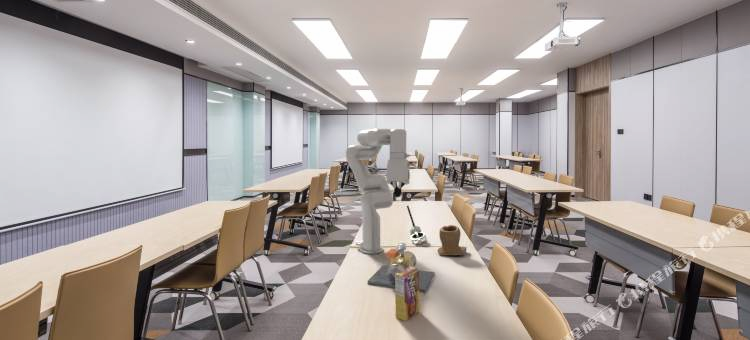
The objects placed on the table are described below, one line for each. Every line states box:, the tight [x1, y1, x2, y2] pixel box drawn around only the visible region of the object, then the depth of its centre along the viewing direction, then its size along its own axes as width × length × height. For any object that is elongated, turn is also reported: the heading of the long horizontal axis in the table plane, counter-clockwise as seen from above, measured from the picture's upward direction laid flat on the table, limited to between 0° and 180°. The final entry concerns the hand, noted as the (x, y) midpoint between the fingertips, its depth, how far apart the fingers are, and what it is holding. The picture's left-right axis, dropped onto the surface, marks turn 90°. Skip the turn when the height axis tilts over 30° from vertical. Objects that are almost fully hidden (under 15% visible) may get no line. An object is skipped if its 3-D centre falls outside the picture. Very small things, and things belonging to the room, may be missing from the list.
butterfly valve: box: [406, 205, 427, 245], centre depth 202 cm, size 9×20×17 cm
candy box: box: [394, 266, 420, 322], centre depth 119 cm, size 9×4×15 cm, turn 140°
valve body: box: [367, 250, 436, 294], centre depth 148 cm, size 24×19×13 cm
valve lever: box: [386, 242, 407, 259], centre depth 143 cm, size 14×3×2 cm, turn 154°
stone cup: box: [436, 224, 467, 256], centre depth 179 cm, size 15×12×15 cm
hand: (397, 196), depth 160 cm, fingers closed
